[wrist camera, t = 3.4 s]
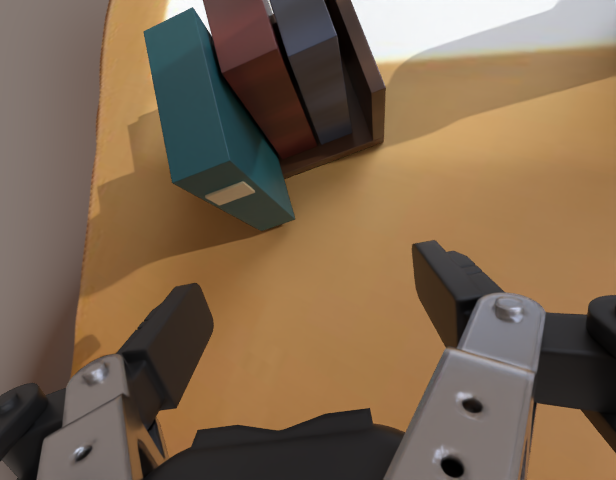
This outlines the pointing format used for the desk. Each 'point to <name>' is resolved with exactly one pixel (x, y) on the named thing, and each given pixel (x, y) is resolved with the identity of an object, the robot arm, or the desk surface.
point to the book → (212, 127)
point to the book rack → (301, 76)
